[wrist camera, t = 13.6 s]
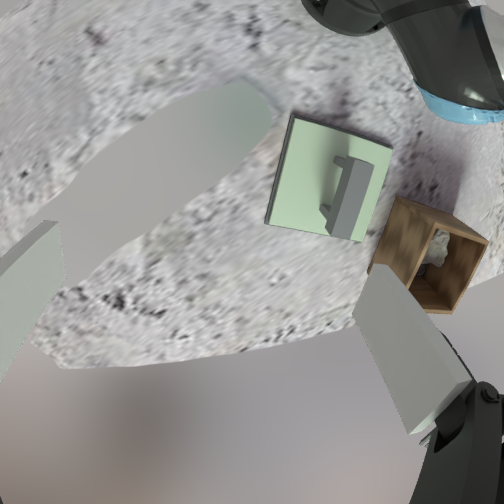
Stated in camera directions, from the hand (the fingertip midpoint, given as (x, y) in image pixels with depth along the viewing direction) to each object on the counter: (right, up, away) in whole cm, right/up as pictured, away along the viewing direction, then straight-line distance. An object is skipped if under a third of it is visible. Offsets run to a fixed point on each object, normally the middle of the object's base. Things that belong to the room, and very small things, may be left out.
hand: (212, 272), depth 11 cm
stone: (+37, +4, +40) cm, 54 cm away
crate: (+33, +3, +40) cm, 52 cm away
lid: (+14, +12, +33) cm, 38 cm away
